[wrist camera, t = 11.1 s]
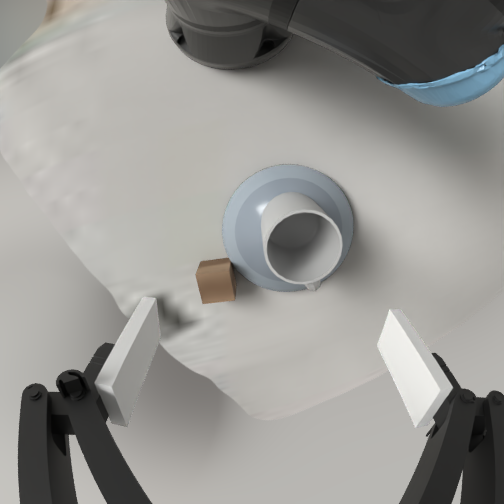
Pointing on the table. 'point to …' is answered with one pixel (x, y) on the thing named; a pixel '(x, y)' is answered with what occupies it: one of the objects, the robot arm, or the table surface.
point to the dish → (251, 209)
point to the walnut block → (216, 281)
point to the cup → (299, 240)
